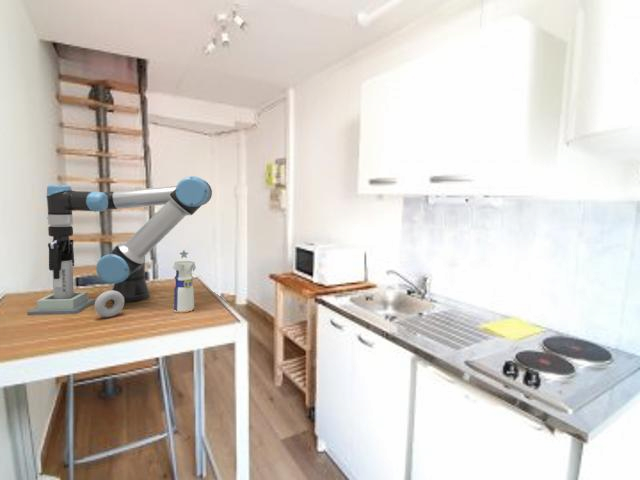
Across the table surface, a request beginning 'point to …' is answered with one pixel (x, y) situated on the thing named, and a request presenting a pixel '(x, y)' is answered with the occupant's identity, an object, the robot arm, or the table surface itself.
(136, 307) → the table surface
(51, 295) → the dock
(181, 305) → the water bottle
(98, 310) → the donut
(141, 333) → the table surface
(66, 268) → the travel mug
